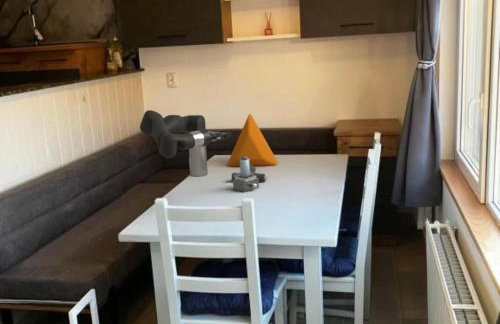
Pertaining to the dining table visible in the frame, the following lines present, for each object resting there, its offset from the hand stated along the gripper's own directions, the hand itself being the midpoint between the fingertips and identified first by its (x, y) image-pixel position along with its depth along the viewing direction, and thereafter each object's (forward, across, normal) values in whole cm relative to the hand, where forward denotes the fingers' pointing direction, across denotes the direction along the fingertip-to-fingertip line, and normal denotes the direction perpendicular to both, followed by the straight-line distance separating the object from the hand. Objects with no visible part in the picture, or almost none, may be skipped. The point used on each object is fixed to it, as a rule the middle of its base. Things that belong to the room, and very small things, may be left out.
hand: (224, 133), depth 260 cm
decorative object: (+51, +34, +30) cm, 69 cm away
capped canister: (+12, 0, +25) cm, 28 cm away
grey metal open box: (+12, -2, +30) cm, 32 cm away
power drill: (+29, +12, +31) cm, 44 cm away
